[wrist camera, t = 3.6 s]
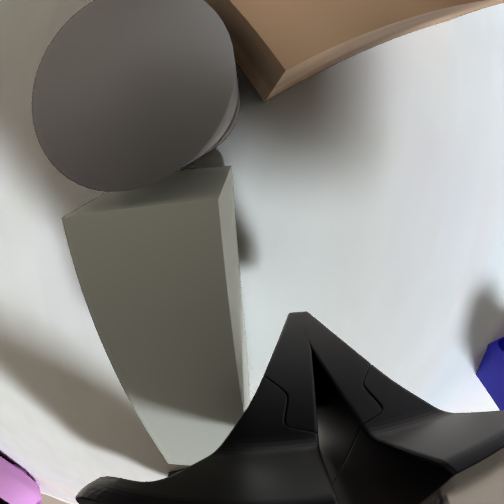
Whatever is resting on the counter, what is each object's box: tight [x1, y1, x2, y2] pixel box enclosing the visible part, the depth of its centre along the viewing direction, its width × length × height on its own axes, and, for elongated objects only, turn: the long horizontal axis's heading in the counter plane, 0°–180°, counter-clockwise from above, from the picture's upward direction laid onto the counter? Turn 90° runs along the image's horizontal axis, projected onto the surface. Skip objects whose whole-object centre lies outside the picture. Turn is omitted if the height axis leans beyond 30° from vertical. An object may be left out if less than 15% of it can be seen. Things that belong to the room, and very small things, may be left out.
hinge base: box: [199, 0, 504, 158], centre depth 5 cm, size 13×4×5 cm, turn 123°
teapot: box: [0, 456, 42, 504], centre depth 20 cm, size 23×21×15 cm
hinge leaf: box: [32, 0, 250, 466], centre depth 8 cm, size 13×4×5 cm, turn 3°
